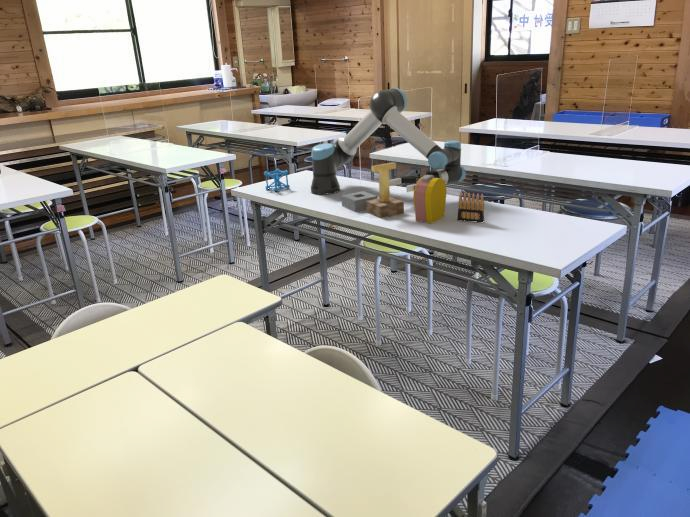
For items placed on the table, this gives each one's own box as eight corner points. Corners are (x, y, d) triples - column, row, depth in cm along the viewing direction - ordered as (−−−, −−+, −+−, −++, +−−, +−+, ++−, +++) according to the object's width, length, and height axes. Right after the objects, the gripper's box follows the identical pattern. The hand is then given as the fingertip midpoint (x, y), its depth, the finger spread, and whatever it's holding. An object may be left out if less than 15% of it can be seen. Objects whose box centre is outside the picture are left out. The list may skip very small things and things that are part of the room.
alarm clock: (428, 212, 236) (429, 171, 230) (446, 215, 232) (446, 172, 225) (412, 222, 225) (412, 178, 218) (430, 224, 221) (430, 180, 214)
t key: (372, 213, 239) (370, 165, 231) (393, 209, 244) (392, 162, 236) (376, 215, 236) (374, 166, 228) (397, 210, 241) (396, 163, 233)
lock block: (366, 211, 242) (365, 201, 240) (388, 207, 248) (388, 196, 246) (381, 218, 232) (380, 206, 231) (403, 212, 238) (403, 201, 236)
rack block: (341, 205, 254) (341, 195, 252) (363, 201, 259) (363, 191, 257) (355, 211, 244) (354, 200, 242) (377, 206, 249) (377, 196, 247)
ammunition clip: (457, 220, 224) (457, 192, 220) (458, 219, 226) (459, 191, 221) (482, 222, 219) (484, 194, 215) (484, 221, 221) (485, 192, 216)
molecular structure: (279, 186, 297) (278, 168, 294) (290, 188, 290) (289, 170, 287) (264, 189, 291) (262, 171, 287) (275, 192, 284) (273, 173, 280)
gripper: (453, 191, 240) (415, 200, 230) (419, 181, 260) (382, 189, 250) (454, 174, 237) (414, 182, 227) (419, 166, 257) (381, 173, 248)
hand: (397, 186), depth 239 cm, fingers open, 13 cm apart
